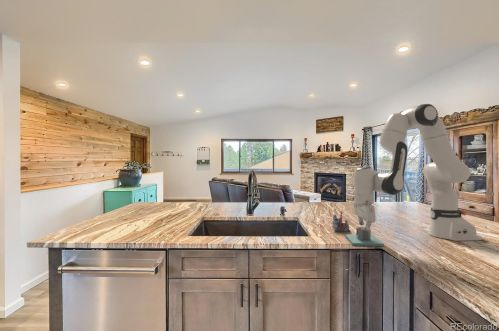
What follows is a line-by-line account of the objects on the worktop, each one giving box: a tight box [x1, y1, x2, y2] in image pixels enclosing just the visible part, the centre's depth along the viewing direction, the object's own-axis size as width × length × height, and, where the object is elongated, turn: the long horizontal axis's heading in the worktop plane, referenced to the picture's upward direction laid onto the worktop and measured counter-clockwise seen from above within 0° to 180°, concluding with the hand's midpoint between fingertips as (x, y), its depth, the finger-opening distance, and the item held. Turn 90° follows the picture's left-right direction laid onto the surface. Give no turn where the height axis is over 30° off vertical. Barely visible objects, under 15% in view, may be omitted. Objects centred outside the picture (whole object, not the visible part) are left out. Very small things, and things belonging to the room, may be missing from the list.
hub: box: [355, 226, 372, 241], centre depth 128 cm, size 6×6×5 cm
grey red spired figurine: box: [331, 210, 350, 233], centre depth 150 cm, size 11×11×12 cm
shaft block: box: [344, 227, 385, 247], centre depth 128 cm, size 14×14×6 cm
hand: (364, 227), depth 128 cm, fingers open, 8 cm apart
